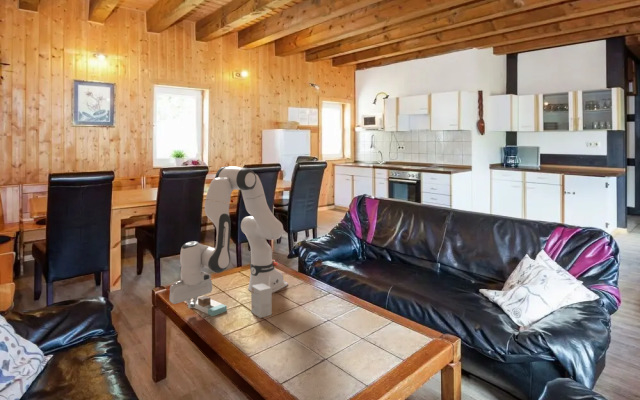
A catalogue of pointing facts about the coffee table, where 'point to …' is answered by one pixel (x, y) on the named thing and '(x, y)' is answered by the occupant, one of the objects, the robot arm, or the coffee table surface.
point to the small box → (261, 300)
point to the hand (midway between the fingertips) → (191, 307)
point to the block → (204, 301)
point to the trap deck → (211, 308)
